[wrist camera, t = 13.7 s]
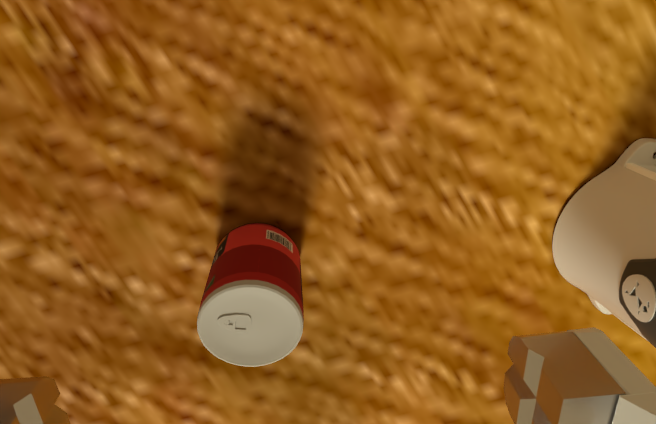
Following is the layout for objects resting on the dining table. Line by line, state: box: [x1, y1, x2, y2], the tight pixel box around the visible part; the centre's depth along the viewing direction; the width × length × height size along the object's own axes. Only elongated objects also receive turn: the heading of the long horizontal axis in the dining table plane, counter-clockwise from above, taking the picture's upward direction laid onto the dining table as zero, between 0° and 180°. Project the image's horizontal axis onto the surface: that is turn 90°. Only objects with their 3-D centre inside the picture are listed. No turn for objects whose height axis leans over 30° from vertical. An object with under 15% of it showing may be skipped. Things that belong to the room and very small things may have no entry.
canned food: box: [197, 223, 304, 367], centre depth 41 cm, size 8×8×11 cm
